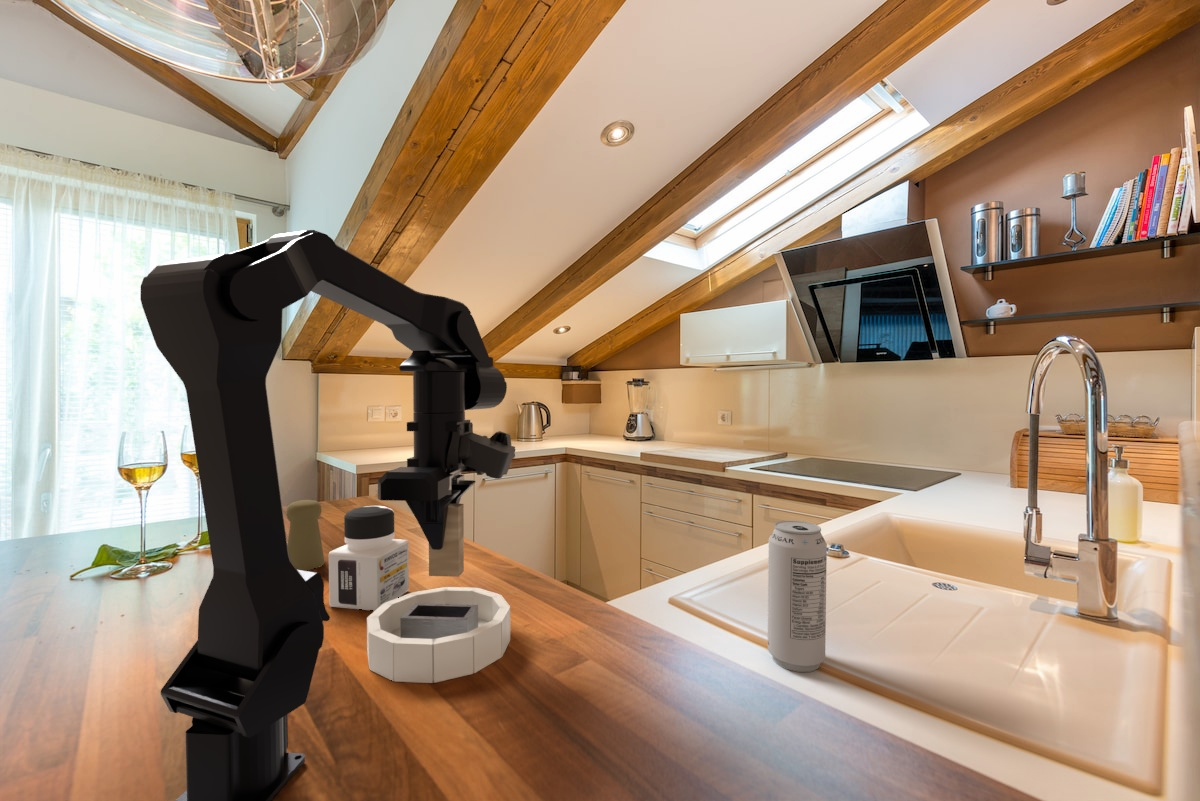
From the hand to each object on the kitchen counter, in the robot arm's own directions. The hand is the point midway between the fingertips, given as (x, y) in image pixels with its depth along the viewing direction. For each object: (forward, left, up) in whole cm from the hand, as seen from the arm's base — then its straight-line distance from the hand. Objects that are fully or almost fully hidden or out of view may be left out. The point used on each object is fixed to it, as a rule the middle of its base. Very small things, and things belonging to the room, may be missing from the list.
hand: (440, 546), depth 63 cm
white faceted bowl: (0, 0, -12) cm, 12 cm away
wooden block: (0, -1, -3) cm, 3 cm away
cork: (+26, +33, -12) cm, 44 cm away
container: (+13, +15, -12) cm, 23 cm away
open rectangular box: (0, 0, -12) cm, 12 cm away
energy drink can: (0, -40, -12) cm, 42 cm away
